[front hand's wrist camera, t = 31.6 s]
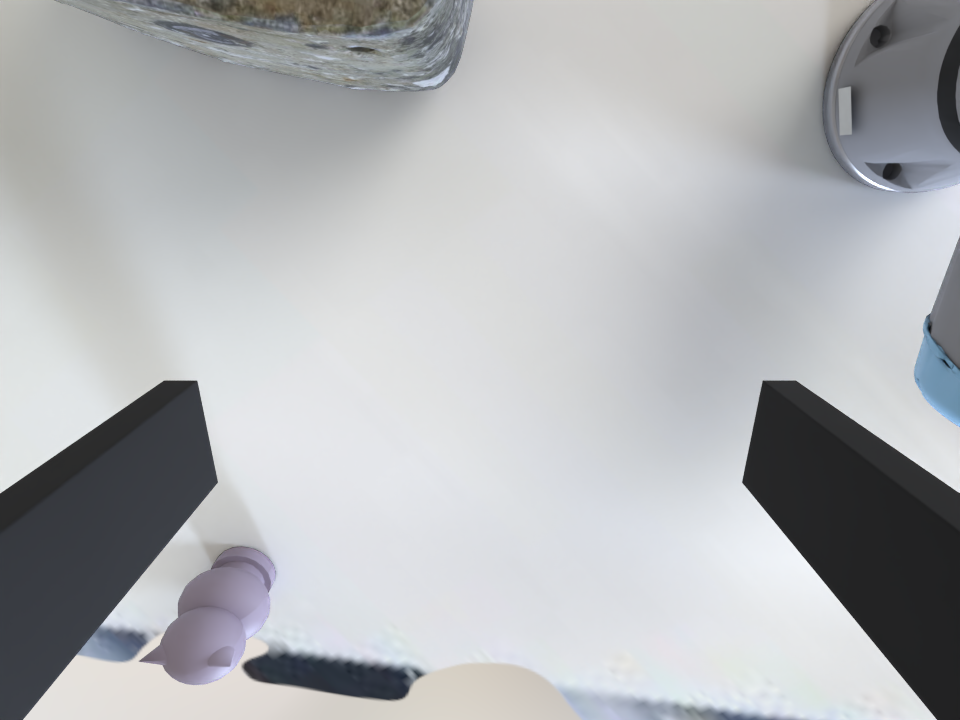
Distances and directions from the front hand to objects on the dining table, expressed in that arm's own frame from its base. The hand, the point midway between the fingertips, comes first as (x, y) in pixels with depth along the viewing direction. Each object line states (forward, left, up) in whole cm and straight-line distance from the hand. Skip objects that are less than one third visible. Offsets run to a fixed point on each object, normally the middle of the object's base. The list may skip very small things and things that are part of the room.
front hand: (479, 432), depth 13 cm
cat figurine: (+35, +24, -34) cm, 54 cm away
